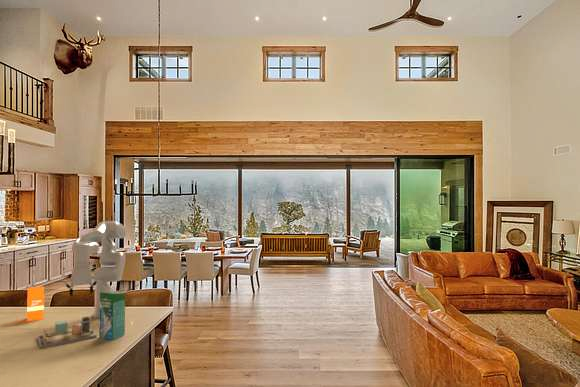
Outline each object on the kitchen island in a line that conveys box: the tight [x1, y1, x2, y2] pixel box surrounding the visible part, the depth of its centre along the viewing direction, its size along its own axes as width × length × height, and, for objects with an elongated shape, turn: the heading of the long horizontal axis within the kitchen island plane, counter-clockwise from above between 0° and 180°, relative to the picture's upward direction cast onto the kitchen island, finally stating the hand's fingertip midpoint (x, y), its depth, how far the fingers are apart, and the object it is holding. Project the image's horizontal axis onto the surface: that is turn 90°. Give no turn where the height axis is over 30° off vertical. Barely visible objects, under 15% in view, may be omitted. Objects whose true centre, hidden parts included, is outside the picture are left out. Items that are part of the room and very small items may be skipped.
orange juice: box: [26, 285, 45, 322], centre depth 237 cm, size 8×9×20 cm
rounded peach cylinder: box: [71, 322, 82, 335], centre depth 201 cm, size 4×4×5 cm
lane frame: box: [36, 326, 98, 350], centre depth 202 cm, size 26×19×1 cm
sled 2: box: [42, 320, 91, 345], centre depth 199 cm, size 21×7×8 cm, turn 129°
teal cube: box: [54, 320, 68, 334], centre depth 205 cm, size 5×5×5 cm
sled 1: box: [43, 316, 91, 338], centre depth 206 cm, size 21×7×8 cm, turn 129°
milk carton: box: [98, 290, 126, 341], centre depth 205 cm, size 9×9×25 cm
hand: (81, 294), depth 213 cm, fingers open, 9 cm apart
